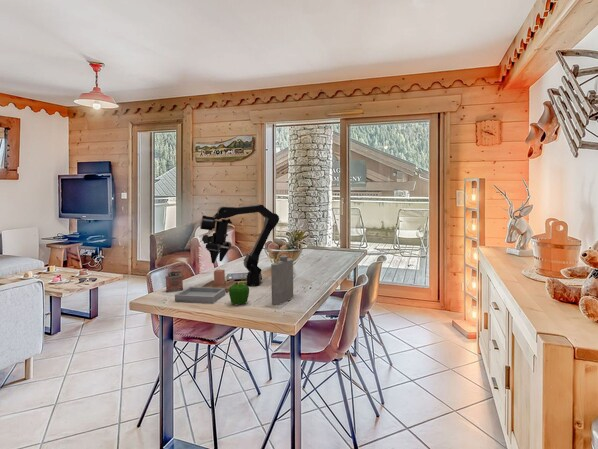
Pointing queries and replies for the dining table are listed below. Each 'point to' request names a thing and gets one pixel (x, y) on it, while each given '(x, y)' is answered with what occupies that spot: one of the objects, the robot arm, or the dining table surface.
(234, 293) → the bell pepper
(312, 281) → the dining table surface
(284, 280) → the hip flask
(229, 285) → the socket block
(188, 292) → the tray
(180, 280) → the lighter
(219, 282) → the brown tall block
